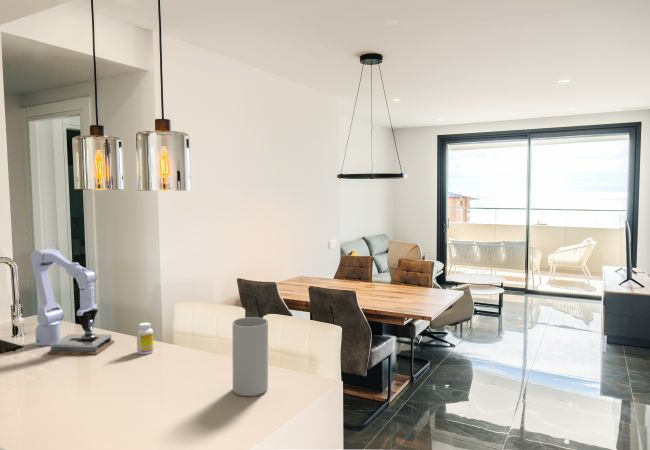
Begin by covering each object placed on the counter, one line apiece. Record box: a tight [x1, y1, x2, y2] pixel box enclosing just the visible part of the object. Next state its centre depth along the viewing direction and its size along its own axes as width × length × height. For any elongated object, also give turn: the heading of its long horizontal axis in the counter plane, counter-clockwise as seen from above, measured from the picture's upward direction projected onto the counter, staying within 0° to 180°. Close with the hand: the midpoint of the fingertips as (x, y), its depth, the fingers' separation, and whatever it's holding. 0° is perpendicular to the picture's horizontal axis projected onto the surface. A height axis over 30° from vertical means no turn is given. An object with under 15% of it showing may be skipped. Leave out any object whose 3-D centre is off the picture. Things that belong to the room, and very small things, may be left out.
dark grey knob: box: [82, 319, 96, 339], centre depth 210 cm, size 6×6×8 cm
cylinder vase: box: [232, 316, 269, 397], centre depth 167 cm, size 12×12×25 cm
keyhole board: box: [46, 339, 115, 356], centre depth 211 cm, size 22×17×1 cm
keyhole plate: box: [50, 333, 112, 352], centre depth 211 cm, size 20×15×3 cm
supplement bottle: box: [136, 322, 154, 355], centre depth 206 cm, size 7×7×13 cm
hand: (87, 327), depth 210 cm, fingers closed on dark grey knob, 4 cm apart
